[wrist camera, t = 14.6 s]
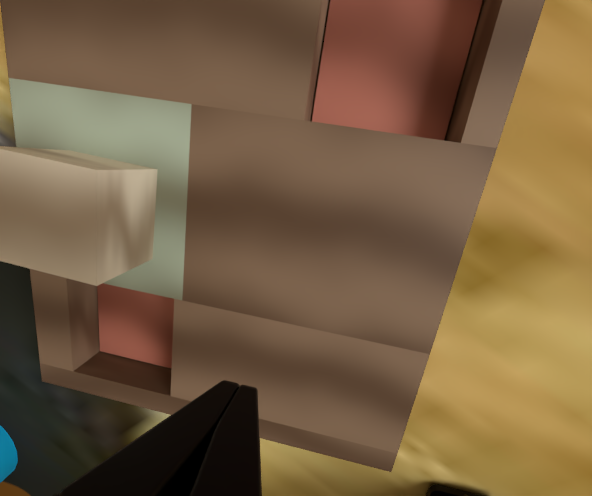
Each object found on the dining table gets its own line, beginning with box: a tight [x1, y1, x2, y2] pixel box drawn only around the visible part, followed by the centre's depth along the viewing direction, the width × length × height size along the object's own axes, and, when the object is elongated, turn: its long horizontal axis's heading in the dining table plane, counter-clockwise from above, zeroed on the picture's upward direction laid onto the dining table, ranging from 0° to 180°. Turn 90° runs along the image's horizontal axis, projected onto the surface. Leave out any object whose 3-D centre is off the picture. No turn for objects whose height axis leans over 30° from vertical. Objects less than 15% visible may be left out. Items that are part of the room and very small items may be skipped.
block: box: [0, 146, 158, 286], centre depth 14 cm, size 5×5×4 cm
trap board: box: [0, 0, 545, 472], centre depth 17 cm, size 27×24×2 cm
